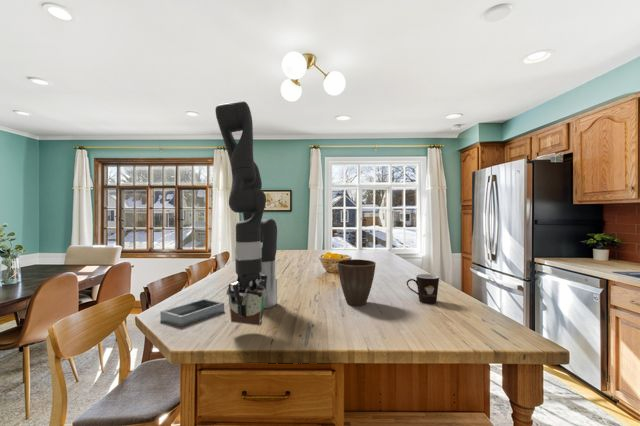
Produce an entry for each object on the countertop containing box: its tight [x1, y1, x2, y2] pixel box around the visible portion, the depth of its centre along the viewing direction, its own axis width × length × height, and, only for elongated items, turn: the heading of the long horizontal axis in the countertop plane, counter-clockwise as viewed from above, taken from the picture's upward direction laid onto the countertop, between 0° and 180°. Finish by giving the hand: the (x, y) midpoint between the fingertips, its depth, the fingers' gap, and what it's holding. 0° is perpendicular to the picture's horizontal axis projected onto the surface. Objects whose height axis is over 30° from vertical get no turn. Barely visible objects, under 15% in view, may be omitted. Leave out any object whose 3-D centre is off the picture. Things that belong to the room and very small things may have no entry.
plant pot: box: [336, 258, 377, 307], centre depth 115 cm, size 15×15×16 cm
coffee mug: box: [406, 273, 440, 305], centre depth 118 cm, size 12×9×10 cm
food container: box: [226, 285, 267, 327], centre depth 87 cm, size 12×6×10 cm, turn 72°
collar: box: [160, 298, 225, 328], centre depth 102 cm, size 17×11×3 cm, turn 149°
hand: (249, 313), depth 87 cm, fingers closed on food container, 5 cm apart
